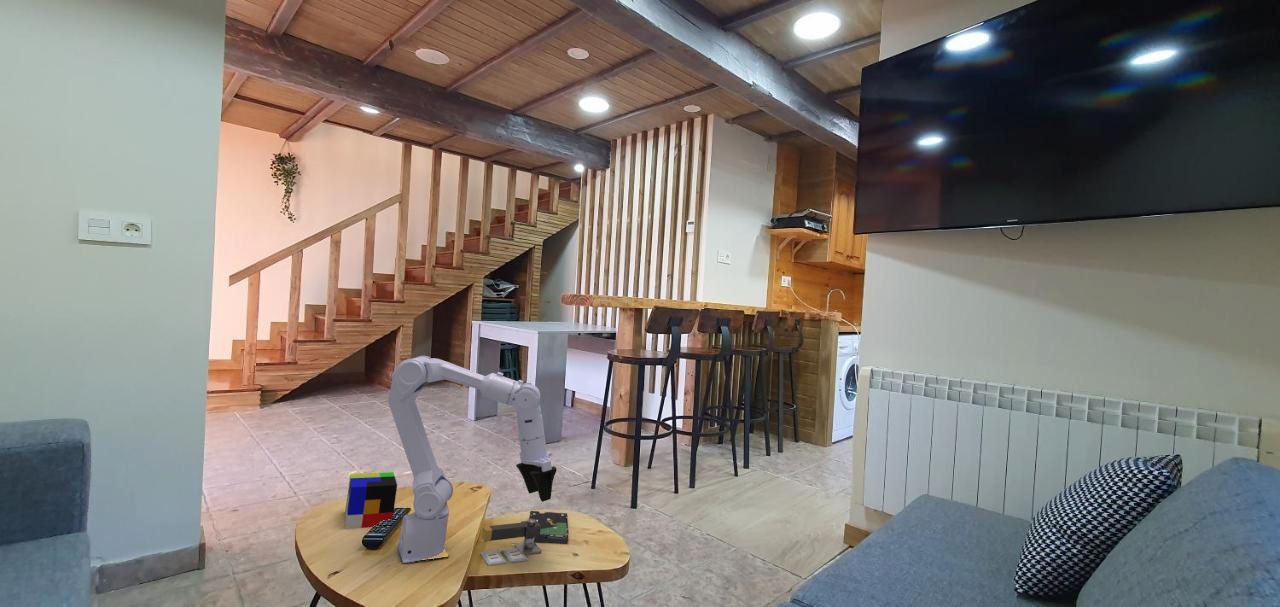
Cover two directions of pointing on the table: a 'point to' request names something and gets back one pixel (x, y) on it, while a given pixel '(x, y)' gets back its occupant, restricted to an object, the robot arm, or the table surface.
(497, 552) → the label plate
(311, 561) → the table surface
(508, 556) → the label plate
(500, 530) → the swing arm
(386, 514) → the puzzle toy
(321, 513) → the table surface
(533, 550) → the pivot stand
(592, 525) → the table surface
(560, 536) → the disk drive
